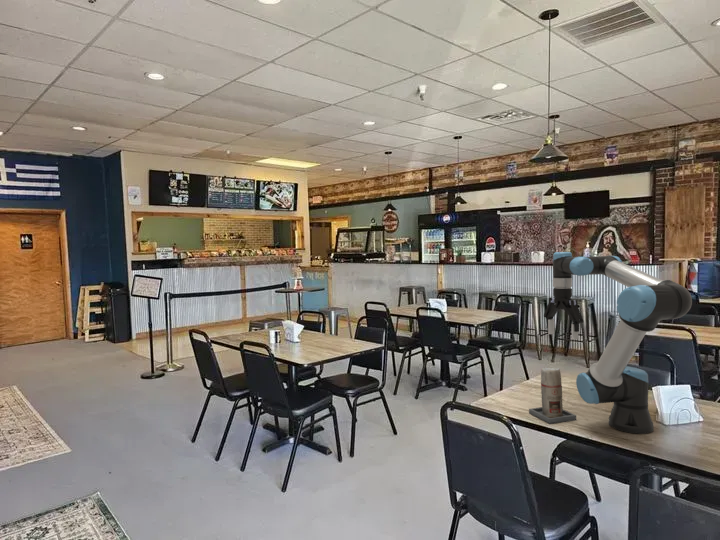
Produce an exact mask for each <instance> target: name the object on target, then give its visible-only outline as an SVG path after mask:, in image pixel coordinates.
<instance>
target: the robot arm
mask: <svg viewBox="0 0 720 540" xmlns="http://www.w3.org/2000/svg"><path fill="white" fill-rule="evenodd" d="M573 275H574V276H578V277H579V276H580V277H581V276H583V277H584V276H590V275H591V276H593V275H594V276H595V275H603V276H605V277H607V278H608V279H611V280H613V281H616V282H617V283H619V284H622V285H623V286H626V287H625V288H624V289H623V290H622V291H621V292H620V293H619V295H618V297H617V299H616V304H617V306H616V310H617V313H618V318H619V320H620V321H619V322H618V323H617V324H618V325H617V326H616V328H615V329H614V331H613V334H612V335H611V337H610V338H609V341H608V342H607V344H606V346H605V348H604V350H603V352H602V354H601V356H600V358H598V359H599V360H598V361H597V362H594V363H592V364H591V365H590V367H589V368H588V370H587V372H581V373H579V374H578V375H576V382H575V383H576V384H575V385H576V389H577V392H578V394H579V396H580V398H581V399H582V400H583V401H584V402H585V403H586V404H591V405H592V404H595V405H598V404H607V403H608V404H609V403H610V404H611V403H613V405H612V408H611V410H610V415H608V425H609V426H610V427H611V428H613V429H615V430H618V431H621V432H625V433H630V434H637V435H638V434H641V435H642V434H644V435H645V434H651V433H652V432H653V431H654V422H653V420H652V418H651V414H650V411H649V374H648V372H647V371H646V370H644V369H640V368H638V367H634V366H629V365H628V364H629V363H630V361H631V360H632V357H633V356H634V354H635V352H636V351H637V349H638V348H639V346H640V344H641V342H642V341H643V339H644V337H645V336H646V334H647V333H650V332H653V331H655V329H656V327H657V326H658V324H659V323H660V322H661V321H663V320H664V321H665V320H666V321H667V320H676V319H680V318H682V317H684V316H685V315H687V313H688V312H690V310H691V308H692V305H693V298H692V296H691V293H690V292H689V290H688V289H687V288H686V287H685V286H683V285H681V284H679V283H678V282H675V281H672V280H671V279H661V278H658V277H656V276H654V275H652V274H650V273H646V272H645V271H642V270H640V269H638V268H635V267H633V266H631V265H628V264H626V263H624V262H623V261H622V259H621V258H620V257H619V256H616V255H597V256H596V255H595V256H593V255H591V256H573V254H572V252H571V251H556V252H554V253H553V254H552V277H553V278H552V287H553V289H552V292H553V293H552V294H553V295H552V296H553V297H548V303H547V306H546V308H545V311H544V313H543V318H545V319H547V321H546V322H547V333H548V335H554V334H555V318H554V317H555V316H556V314H557V313H558V312H559V310H564V312H566V314H567V315H568V316H569V318H570V320H571V321H572V323H571V340H579V332H580V324H583V323H584V319H583V316H582V314H581V311H580V308H579V306H578V300H577V299H571V298H572V297H573V288H572V286H573Z"/></svg>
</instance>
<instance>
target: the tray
mask: <svg viewBox="0 0 720 540" xmlns="http://www.w3.org/2000/svg"><path fill="white" fill-rule="evenodd" d="M528 414H529V415H532V416H533V417H535V418H537V419H539V420H540V421H543V422H545V423H546V424H548V425H555V424H559V423H560V424H561V423H566V422H573V421H577V414H574V413H572V412H570V411H567V410H565V409H564V408H563V409H562V414H563V416H561V417H554V418H551V417H547V416H545V415H543V411H542V406H540V407H532V408H529V409H528Z"/></svg>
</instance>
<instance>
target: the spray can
mask: <svg viewBox="0 0 720 540" xmlns="http://www.w3.org/2000/svg"><path fill="white" fill-rule="evenodd" d="M540 389H541V390H540V391H541V392H540V393H541V407H542V411H543V415H545V416H547V417H551V418H554V417H561V416H563V414H562V409H564V407H563V406H564V405H563V385H562V373H561V369H560V368H559V367H556V368H552V367H551V368H549V367H542V368H541V369H540Z"/></svg>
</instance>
